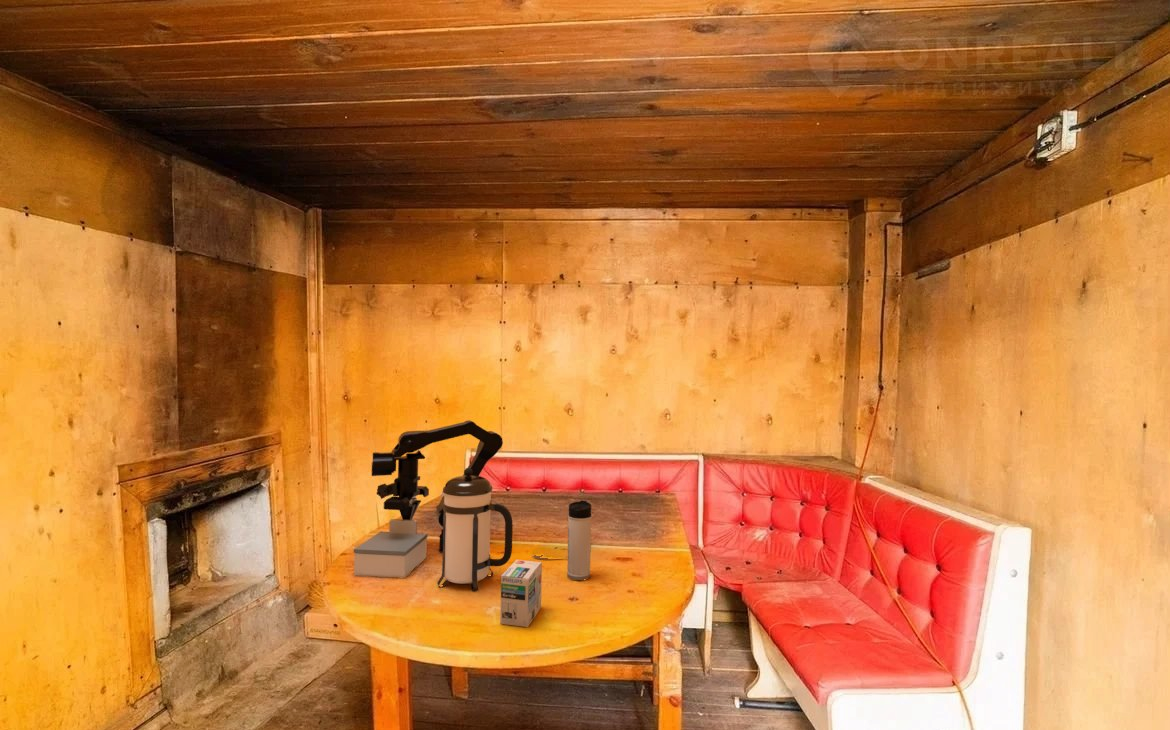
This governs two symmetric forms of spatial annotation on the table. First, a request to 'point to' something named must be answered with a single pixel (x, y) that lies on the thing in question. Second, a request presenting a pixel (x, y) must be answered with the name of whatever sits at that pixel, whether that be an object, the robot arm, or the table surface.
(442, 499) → the robot arm
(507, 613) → the light bulb box
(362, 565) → the grey parts tub
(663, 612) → the table surface
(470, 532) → the coffee press
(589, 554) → the travel mug
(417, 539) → the slate lid
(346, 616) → the table surface
